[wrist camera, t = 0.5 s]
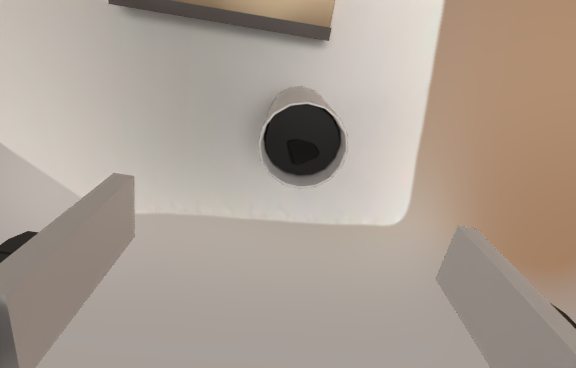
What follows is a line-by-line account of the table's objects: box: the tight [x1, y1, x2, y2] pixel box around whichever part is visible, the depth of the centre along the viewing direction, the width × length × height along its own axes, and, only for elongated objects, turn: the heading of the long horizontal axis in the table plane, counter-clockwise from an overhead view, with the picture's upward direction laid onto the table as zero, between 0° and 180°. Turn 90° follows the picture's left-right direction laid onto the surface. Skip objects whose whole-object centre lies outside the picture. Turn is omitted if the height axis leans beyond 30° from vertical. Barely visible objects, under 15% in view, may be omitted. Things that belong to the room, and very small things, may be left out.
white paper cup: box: [258, 86, 348, 188], centre depth 30 cm, size 7×7×10 cm
